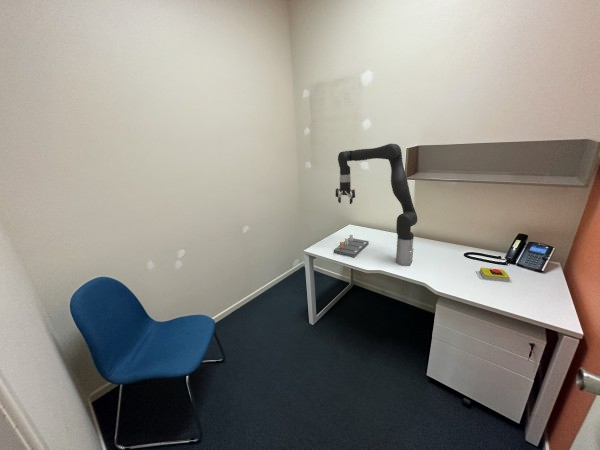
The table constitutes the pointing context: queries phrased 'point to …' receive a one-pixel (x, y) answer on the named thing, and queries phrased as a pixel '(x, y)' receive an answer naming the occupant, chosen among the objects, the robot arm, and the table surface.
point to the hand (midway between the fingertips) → (345, 203)
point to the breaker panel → (351, 247)
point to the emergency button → (493, 274)
